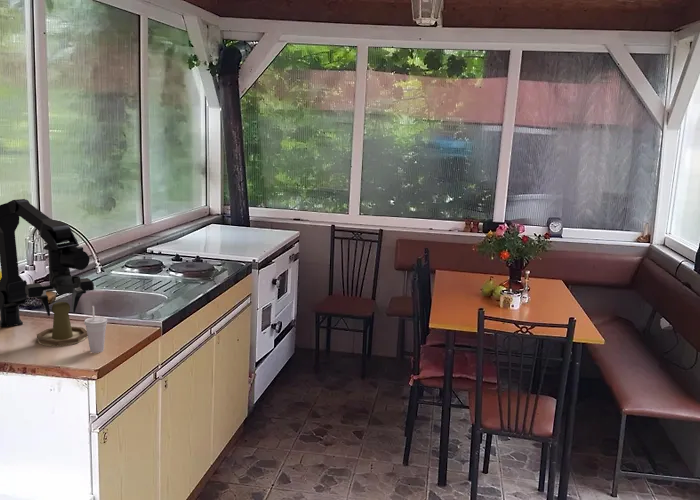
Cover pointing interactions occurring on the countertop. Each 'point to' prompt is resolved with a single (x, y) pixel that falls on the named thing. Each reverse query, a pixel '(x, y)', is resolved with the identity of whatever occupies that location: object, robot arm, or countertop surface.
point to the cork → (61, 321)
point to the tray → (47, 340)
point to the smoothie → (96, 332)
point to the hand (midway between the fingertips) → (61, 314)
